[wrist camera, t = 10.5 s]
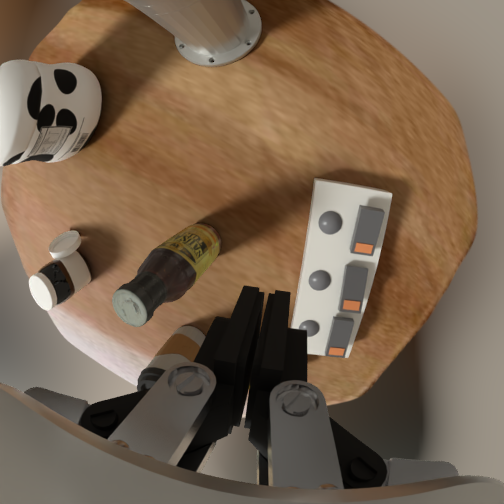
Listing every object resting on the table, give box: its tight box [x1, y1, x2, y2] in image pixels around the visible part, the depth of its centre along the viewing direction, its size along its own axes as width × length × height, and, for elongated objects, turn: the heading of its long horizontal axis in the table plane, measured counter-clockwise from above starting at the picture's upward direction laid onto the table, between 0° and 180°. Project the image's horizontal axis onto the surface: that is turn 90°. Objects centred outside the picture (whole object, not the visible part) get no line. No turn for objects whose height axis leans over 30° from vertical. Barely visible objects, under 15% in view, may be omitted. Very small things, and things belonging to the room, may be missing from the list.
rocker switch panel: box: [291, 178, 392, 358], centre depth 38 cm, size 26×10×4 cm, turn 175°
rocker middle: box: [338, 265, 368, 314], centre depth 35 cm, size 6×3×1 cm, turn 176°
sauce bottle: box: [112, 223, 222, 327], centre depth 32 cm, size 7×6×20 cm
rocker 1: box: [325, 316, 354, 358], centre depth 38 cm, size 6×3×1 cm, turn 175°
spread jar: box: [29, 230, 92, 311], centre depth 42 cm, size 12×11×12 cm
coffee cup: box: [137, 326, 205, 391], centre depth 41 cm, size 8×8×15 cm
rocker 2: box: [349, 205, 385, 256], centre depth 32 cm, size 6×3×1 cm, turn 175°
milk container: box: [0, 60, 102, 166], centre depth 28 cm, size 17×17×18 cm
